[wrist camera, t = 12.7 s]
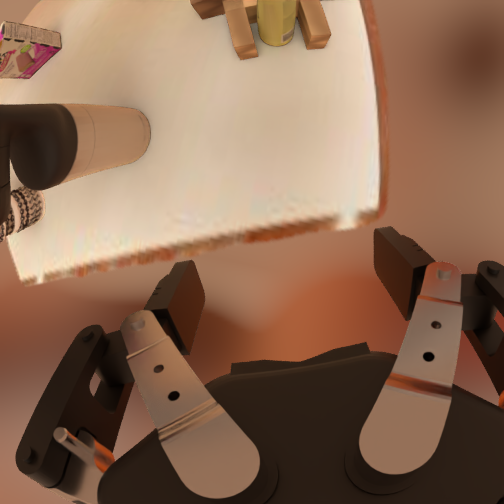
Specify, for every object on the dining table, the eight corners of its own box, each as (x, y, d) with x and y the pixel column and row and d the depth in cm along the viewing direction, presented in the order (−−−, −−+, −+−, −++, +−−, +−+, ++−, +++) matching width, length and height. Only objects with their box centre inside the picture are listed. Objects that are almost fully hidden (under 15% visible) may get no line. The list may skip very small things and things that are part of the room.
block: (240, 60, 31) (234, 47, 25) (229, 17, 28) (222, 0, 22) (323, 48, 29) (331, 34, 24) (310, 5, 26) (314, -12, 20)
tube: (250, 22, 28) (233, -52, 10) (282, 12, 27) (289, -65, 9) (267, 51, 30) (263, -15, 12) (300, 40, 29) (322, -28, 11)
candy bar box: (29, 80, 32) (-29, 81, 17) (27, 63, 30) (-28, 61, 15) (63, 48, 29) (2, 38, 14) (61, 32, 28) (3, 19, 13)
